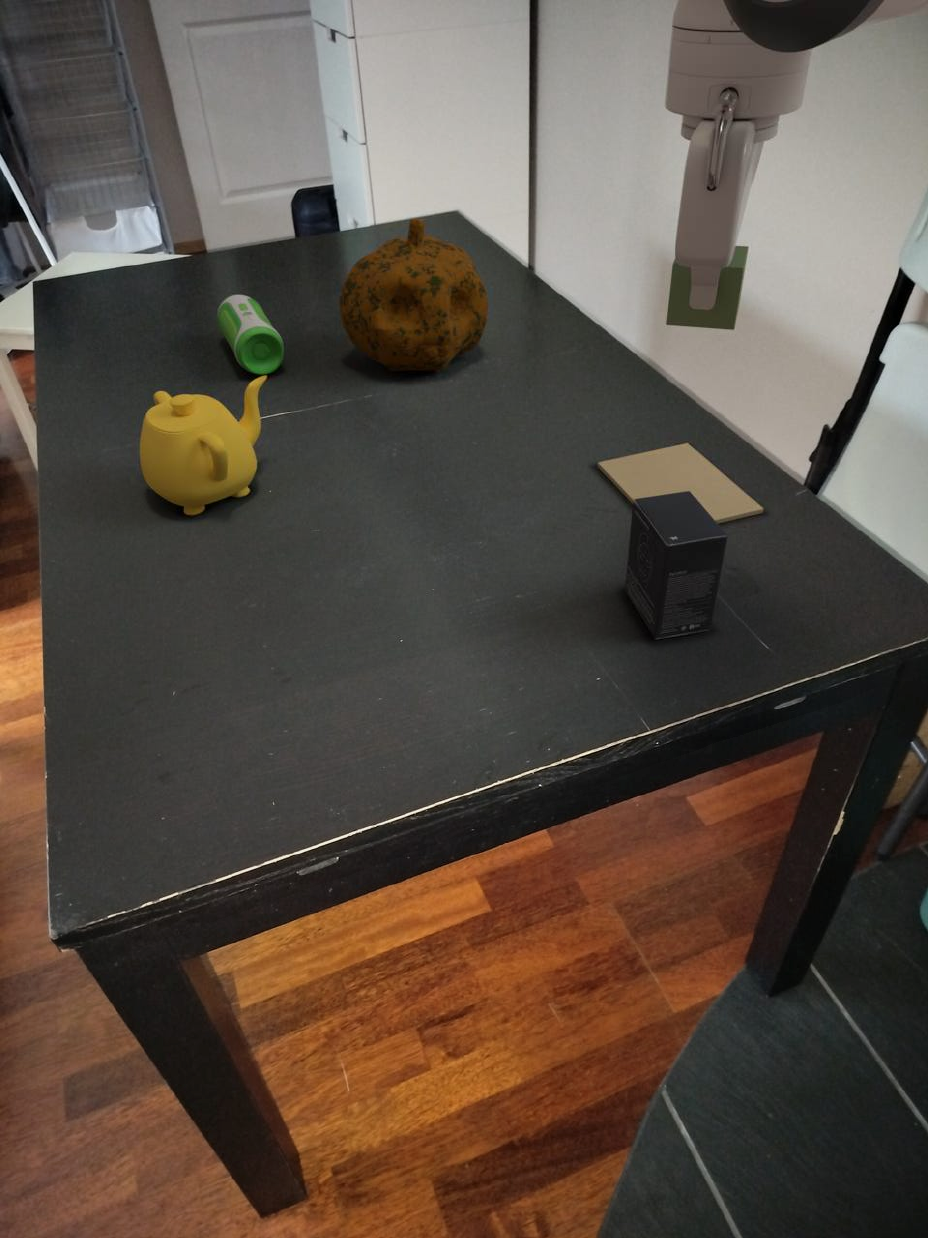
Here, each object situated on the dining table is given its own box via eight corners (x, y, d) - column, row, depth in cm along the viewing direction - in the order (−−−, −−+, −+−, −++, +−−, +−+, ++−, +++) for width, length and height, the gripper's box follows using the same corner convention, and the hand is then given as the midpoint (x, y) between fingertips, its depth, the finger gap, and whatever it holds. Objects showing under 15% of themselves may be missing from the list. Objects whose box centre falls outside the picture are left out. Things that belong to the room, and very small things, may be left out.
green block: (739, 305, 67) (748, 245, 64) (733, 330, 64) (744, 267, 61) (674, 301, 69) (681, 242, 66) (665, 324, 65) (672, 263, 62)
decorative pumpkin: (335, 336, 134) (328, 199, 121) (465, 330, 139) (472, 197, 126) (351, 395, 120) (345, 246, 107) (496, 386, 124) (508, 242, 111)
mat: (762, 513, 93) (763, 508, 92) (663, 537, 90) (664, 532, 90) (687, 446, 105) (687, 442, 104) (597, 466, 102) (597, 462, 102)
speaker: (291, 373, 127) (282, 323, 122) (242, 384, 125) (231, 333, 120) (265, 333, 139) (256, 286, 134) (220, 342, 137) (209, 294, 132)
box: (712, 630, 78) (730, 535, 72) (653, 641, 78) (666, 545, 71) (677, 580, 84) (690, 487, 78) (622, 590, 84) (631, 497, 77)
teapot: (252, 524, 96) (228, 428, 88) (131, 521, 97) (97, 427, 90) (285, 461, 106) (266, 370, 99) (175, 460, 108) (148, 370, 100)
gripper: (779, 107, 48) (739, 348, 57) (791, 53, 62) (758, 251, 71) (664, 106, 49) (643, 340, 58) (703, 54, 64) (681, 247, 73)
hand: (706, 290), depth 65 cm, fingers closed on green block, 5 cm apart
